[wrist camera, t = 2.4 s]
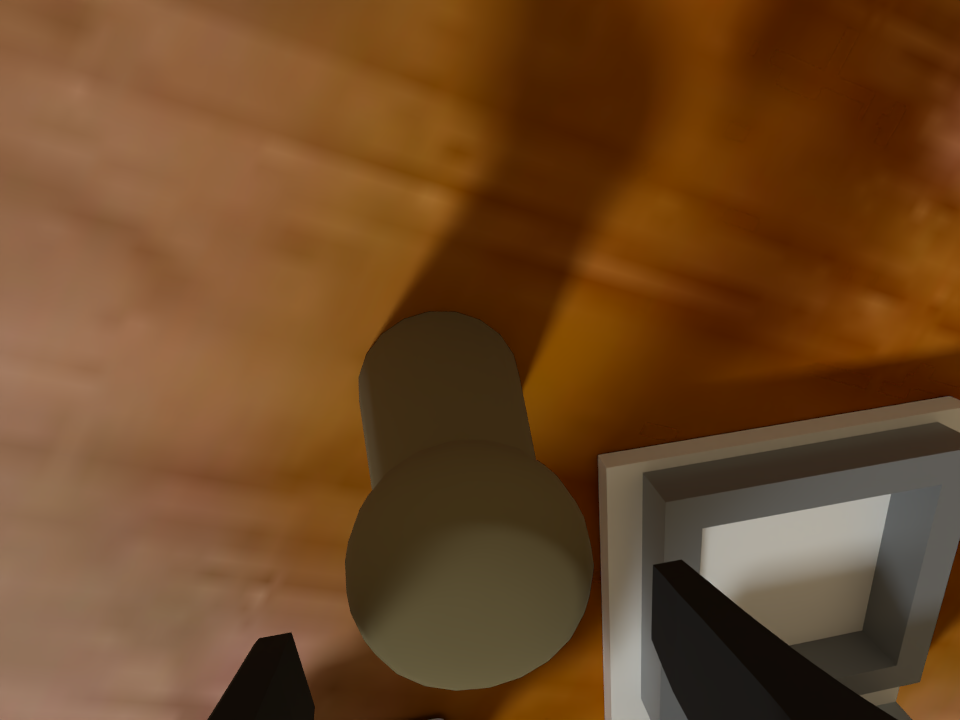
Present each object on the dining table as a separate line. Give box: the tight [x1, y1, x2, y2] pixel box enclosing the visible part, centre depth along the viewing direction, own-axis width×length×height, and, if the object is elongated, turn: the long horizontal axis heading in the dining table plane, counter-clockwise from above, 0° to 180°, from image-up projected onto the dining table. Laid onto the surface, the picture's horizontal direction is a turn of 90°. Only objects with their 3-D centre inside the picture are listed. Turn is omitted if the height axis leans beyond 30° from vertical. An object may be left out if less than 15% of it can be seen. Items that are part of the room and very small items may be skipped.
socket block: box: [598, 396, 960, 720], centre depth 22 cm, size 16×19×10 cm
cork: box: [345, 312, 594, 691], centre depth 15 cm, size 6×6×11 cm
